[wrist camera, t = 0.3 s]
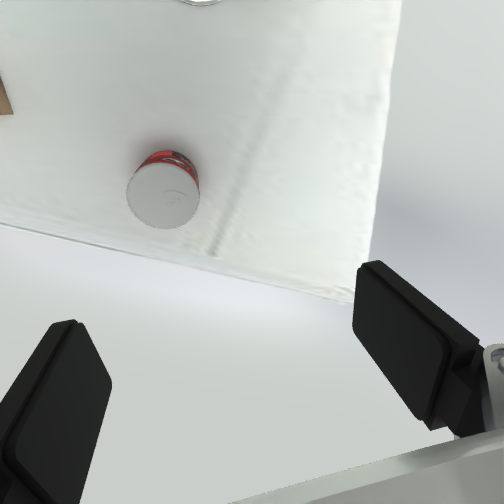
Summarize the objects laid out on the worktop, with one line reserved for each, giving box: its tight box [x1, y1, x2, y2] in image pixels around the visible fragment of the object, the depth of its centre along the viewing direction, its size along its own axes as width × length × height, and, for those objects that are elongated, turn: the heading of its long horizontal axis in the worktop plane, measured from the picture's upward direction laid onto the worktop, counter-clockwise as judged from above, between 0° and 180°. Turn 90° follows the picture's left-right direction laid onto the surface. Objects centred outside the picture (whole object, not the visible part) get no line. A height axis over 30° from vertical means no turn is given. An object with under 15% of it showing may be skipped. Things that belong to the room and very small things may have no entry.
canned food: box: [126, 151, 200, 229], centre depth 36 cm, size 8×8×11 cm
